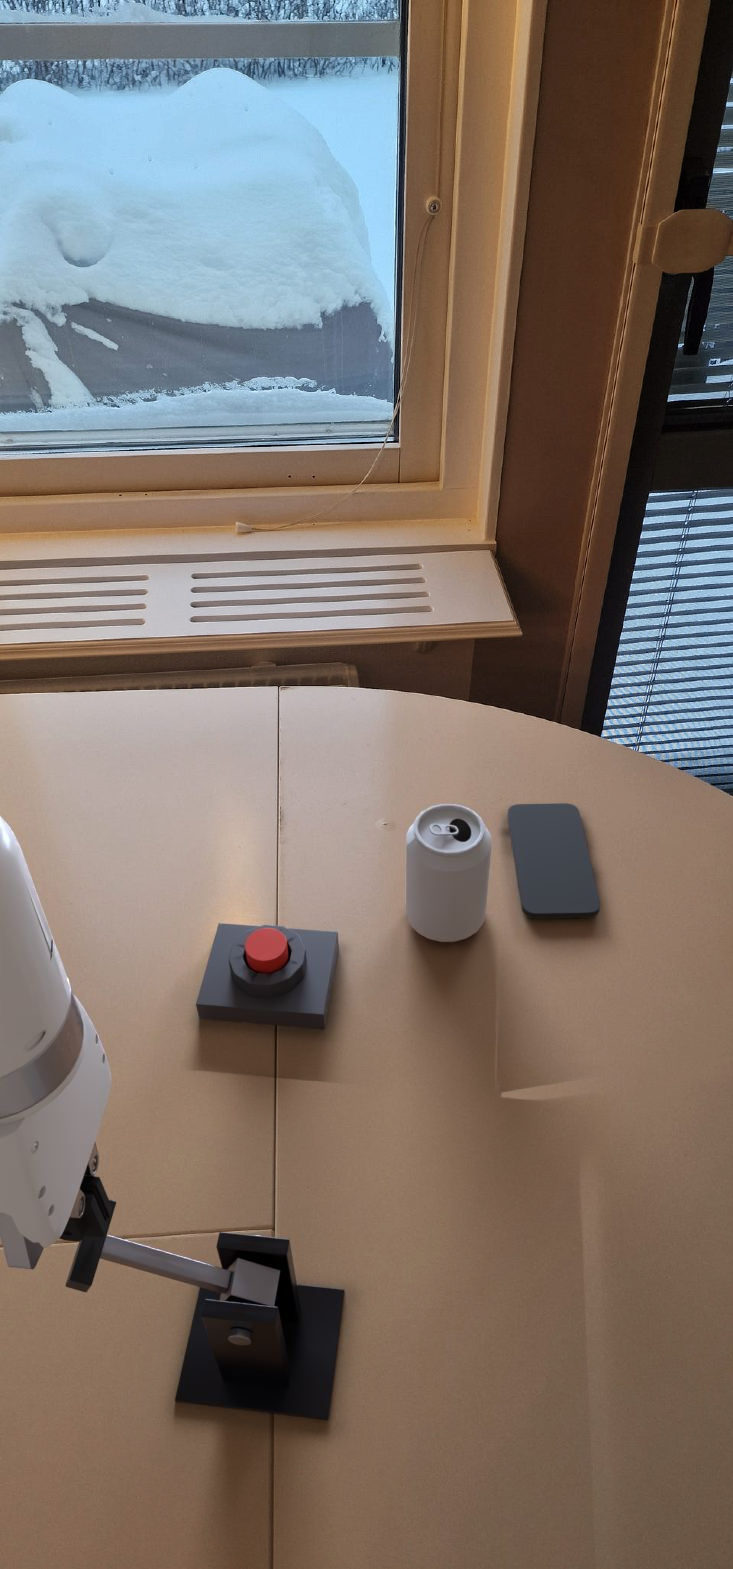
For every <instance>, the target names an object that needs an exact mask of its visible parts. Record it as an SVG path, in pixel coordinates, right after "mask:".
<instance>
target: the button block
mask: <svg viewBox="0 0 733 1569" xmlns="http://www.w3.org/2000/svg"><path fill="white" fill-rule="evenodd" d="M262 928H273V929H276V930H278V931H280V932H281V933H283V935H284V936H285V937H286V940H287V948H288V960H287V962H286V964H285V965H284V966H283V967H282V968H281V969H279V970H278V971H275V972H272V973H259V972H256V971H254V970H253V969H252V968H251V967H250V966H249V965H248V962H247V957H246V951H245V942H246V940H247V938H248V936H249V935H250V934H252V933H253V932H254V931H256V930H259V929H262ZM339 944H340V943H339V931H333V930H320V929H319V930H317V929H305V928H292V927H291V928H290V927H285V926H283V925H275V924H261V925H251V924H240V923H239V924H237V923H223V922H218V924H217V928H216V932H215V935H214V938H213V943H212V947H211V950H210V953H209V957H208V960H207V964H206V967H205V971H204V974H203V978H202V981H201V984H200V988H199V992H198V996H197V1000H196V1003H195V1006H196V1011H197V1015H198V1019H199V1020H207V1021H217V1022H218V1021H220V1022H231V1023H239V1024H240V1023H241V1024H242V1023H243V1024H253V1025H265V1026H278V1027H287V1028H288V1027H291V1028H303V1029H312V1030H313V1029H314V1030H326V1026H327V1019H328V1014H329V1009H330V1001H331V996H332V990H333V985H334V984H333V983H334V978H335V972H336V965H337V959H338V954H339V949H340V945H339Z"/></svg>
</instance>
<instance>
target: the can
mask: <svg viewBox="0 0 733 1569" xmlns="http://www.w3.org/2000/svg"><path fill="white" fill-rule="evenodd" d="M492 845H493V843H492V835H491V833H490V831H489V830H488V828H487V826H486V825H485V822H484V821H483V819H482V818H481V816H480V815H479V814H478V813H477V812H475V811H474V810H473V809H471V808H468V807H466V806H464V805H461V804H455V803H440V804H436V805H431V806H430V807H428V808H426V809H424V810H422V811H421V812H420V813H419V814H418V815H417V816H416V817H415V820H414V822H413V823H412V824H411V825H410V826H409V828H408V830H407V833H406V836H405V917H406V919H407V921H408V923H409V925H410V926H411V928H412V929H413V930H414V931H416V932H417V934H418V935H421V936H423V937H425V938H426V939H428V940H432V941H436V942H441V943H455V942H459V941H462V940H466V939H468V938H469V937H471V936H472V935H474V934H476V933H477V932H478V931H479V930H480V928H481V927H482V926H483V925H484V922H485V918H486V915H487V905H488V892H489V882H490V868H491V859H492V858H491V857H492Z"/></svg>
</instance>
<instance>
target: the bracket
mask: <svg viewBox="0 0 733 1569" xmlns="http://www.w3.org/2000/svg"><path fill="white" fill-rule="evenodd" d="M215 1248H216V1251H217V1253H218V1258H219V1262H220V1265H221V1266H220V1267H221V1268H223V1269H228V1268H229V1267H230V1266H231V1265H232V1264H233V1263H234V1262H235V1261H236V1259H237V1258H240V1259H244V1260H247V1261H250V1262H254V1263H257V1264H261V1265H264V1266H267V1267H271V1268H274V1269H277V1270H280V1275H279V1281H278V1287H277V1293H276V1299H275V1304H274V1307H273V1306H264V1305H255V1304H246V1303H237V1302H228V1301H220V1296H221V1293H219V1292H215V1291H212V1290H208V1289H205V1288H201V1287H199V1290H198V1294H197V1299H196V1303H195V1308H194V1312H193V1317H192V1321H191V1326H190V1329H189V1335H188V1338H187V1343H186V1347H185V1352H184V1356H183V1361H182V1366H181V1370H180V1374H179V1378H178V1384H177V1387H176V1393H175V1397H174V1401H175V1403H180V1404H190V1405H197V1406H206V1407H214V1408H221V1409H222V1408H223V1409H232V1410H239V1411H247V1412H255V1413H264V1414H271V1415H279V1416H280V1415H281V1416H289V1417H296V1418H304V1419H313V1420H320V1421H321V1420H322V1421H329V1420H330V1412H331V1406H332V1405H331V1404H332V1398H333V1397H332V1395H333V1387H334V1381H335V1370H336V1362H337V1356H338V1347H339V1340H340V1331H341V1324H342V1315H343V1309H344V1308H343V1307H344V1299H345V1292H346V1291H345V1289H344V1288H338V1287H337V1288H336V1287H327V1286H317V1285H308V1284H300V1283H297V1277H296V1270H295V1265H294V1259H293V1253H292V1246H291V1241H290V1239H289V1238H282V1237H272V1236H264V1235H259V1234H244V1233H234V1232H227V1231H220V1232H219V1233H218V1236H217V1242H216V1245H215Z"/></svg>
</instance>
